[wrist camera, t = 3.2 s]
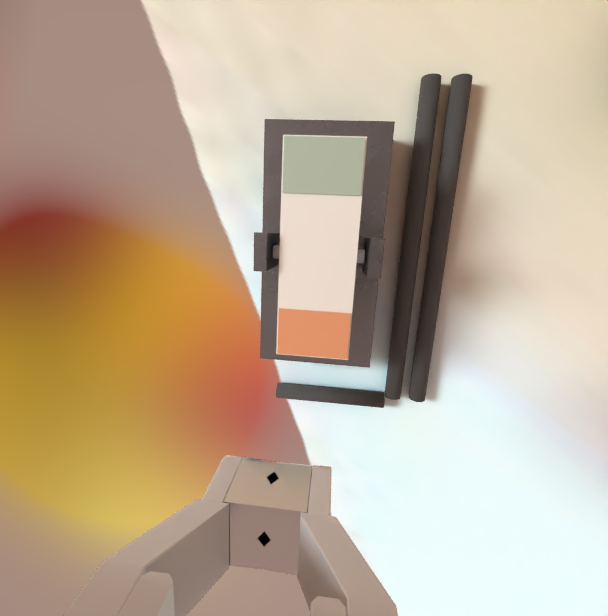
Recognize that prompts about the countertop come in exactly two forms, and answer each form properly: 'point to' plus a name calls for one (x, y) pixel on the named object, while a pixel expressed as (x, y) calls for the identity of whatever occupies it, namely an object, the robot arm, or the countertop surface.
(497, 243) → the countertop surface
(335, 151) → the block
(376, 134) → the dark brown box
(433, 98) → the grey railed fixture
